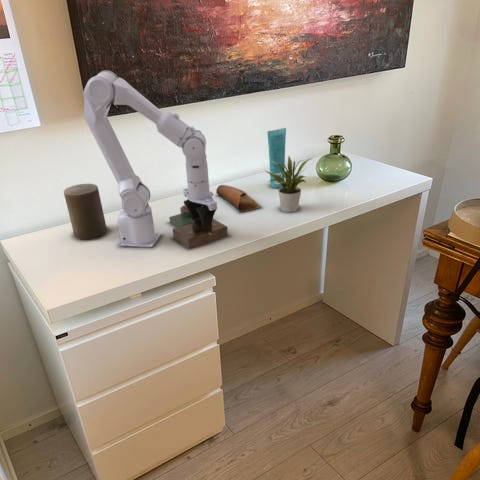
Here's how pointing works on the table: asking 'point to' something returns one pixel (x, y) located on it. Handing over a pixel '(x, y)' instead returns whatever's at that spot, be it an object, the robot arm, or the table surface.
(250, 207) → the sunglasses case
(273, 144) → the tube
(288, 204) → the house plant
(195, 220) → the dark grey red block
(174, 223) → the button box
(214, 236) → the console
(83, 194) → the pillar candle
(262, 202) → the table surface
